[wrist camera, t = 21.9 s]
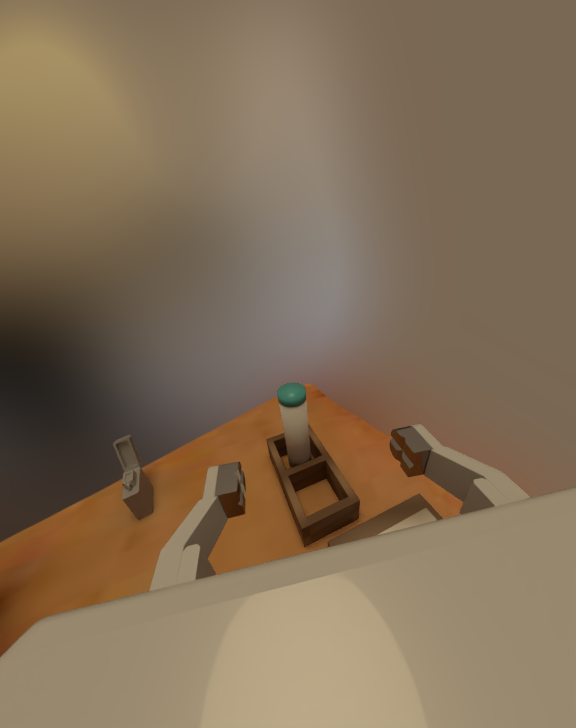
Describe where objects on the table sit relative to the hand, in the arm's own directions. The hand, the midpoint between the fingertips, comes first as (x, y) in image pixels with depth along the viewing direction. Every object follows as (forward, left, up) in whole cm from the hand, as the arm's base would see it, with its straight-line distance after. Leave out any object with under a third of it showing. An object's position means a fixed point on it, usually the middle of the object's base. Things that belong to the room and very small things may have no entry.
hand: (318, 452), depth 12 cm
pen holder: (+10, -3, -18) cm, 21 cm away
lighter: (+18, +18, -18) cm, 31 cm away
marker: (+12, -3, -18) cm, 22 cm away
